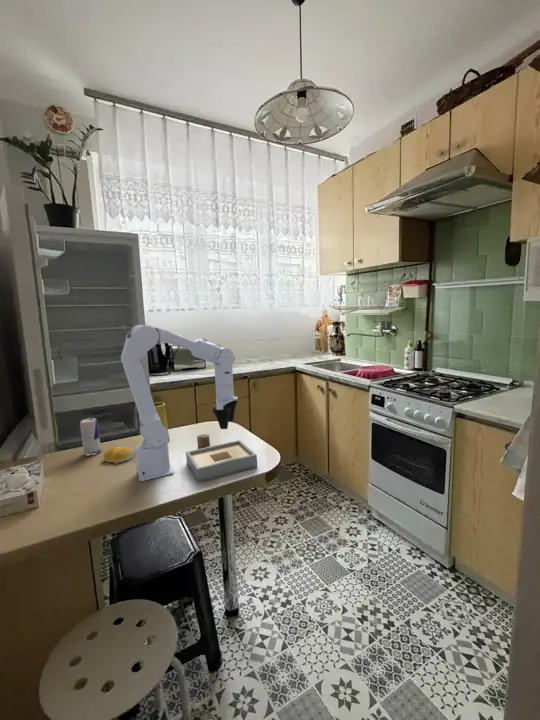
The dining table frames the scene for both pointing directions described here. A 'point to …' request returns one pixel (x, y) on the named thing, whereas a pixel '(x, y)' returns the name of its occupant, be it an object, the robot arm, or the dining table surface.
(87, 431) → the energy drink
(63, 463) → the dining table surface
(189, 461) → the socket box
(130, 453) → the bread roll
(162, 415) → the vase
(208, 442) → the walnut peg
